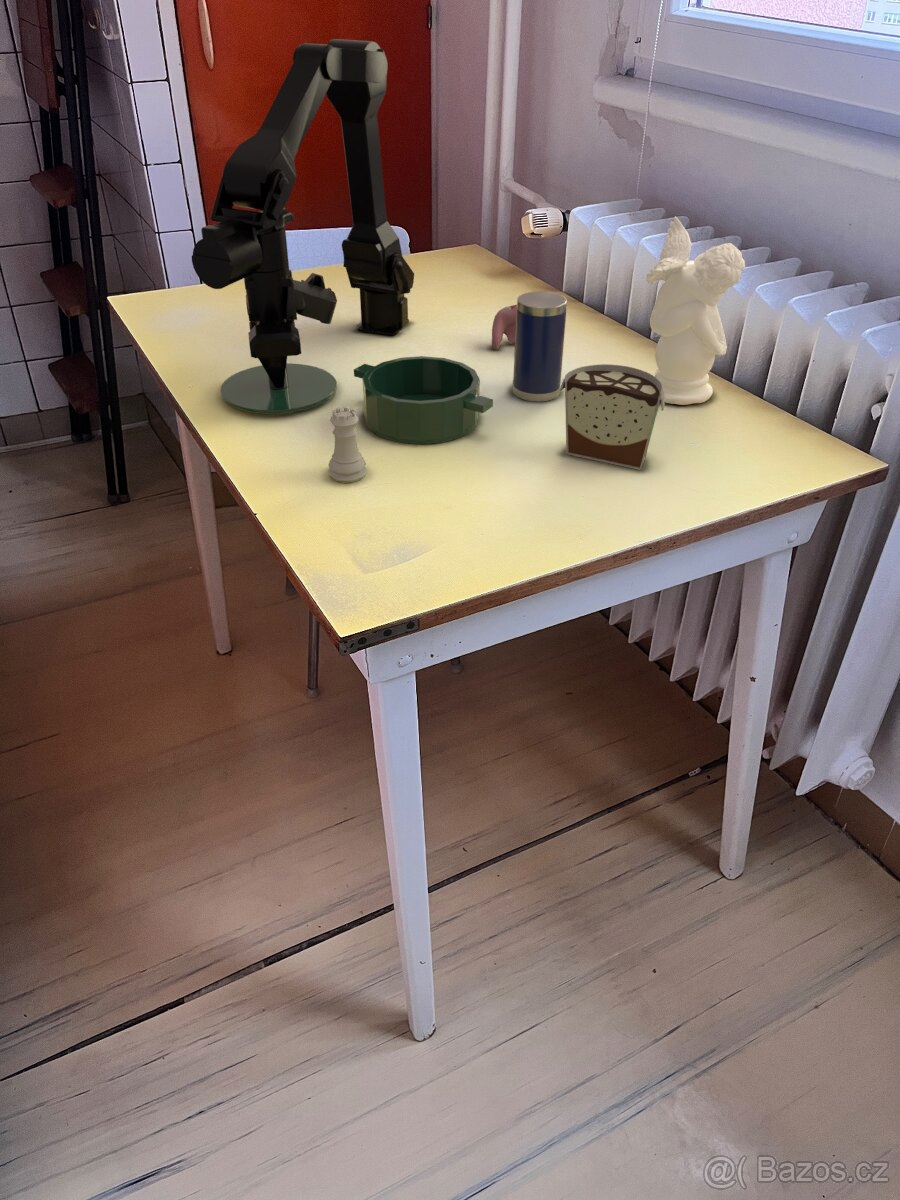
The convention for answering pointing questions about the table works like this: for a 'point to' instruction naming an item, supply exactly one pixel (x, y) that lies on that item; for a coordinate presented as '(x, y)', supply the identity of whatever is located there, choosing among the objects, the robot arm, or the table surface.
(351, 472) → the rook chess piece
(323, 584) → the table surface
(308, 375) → the pot lid
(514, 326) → the video game controller
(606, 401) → the food container
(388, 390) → the pot
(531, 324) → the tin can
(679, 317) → the cherub figurine
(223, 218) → the robot arm
